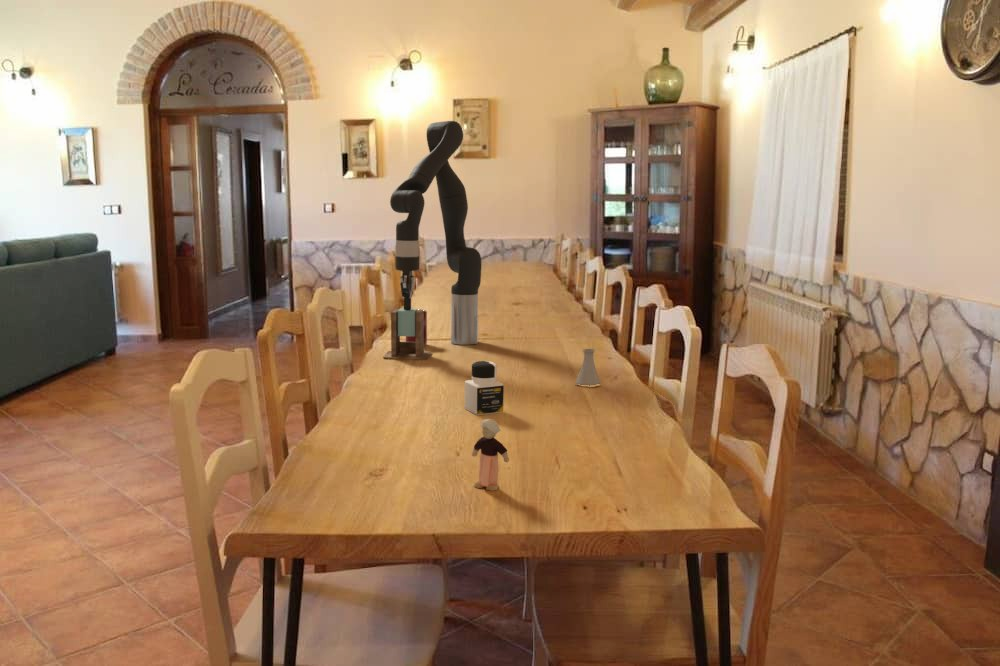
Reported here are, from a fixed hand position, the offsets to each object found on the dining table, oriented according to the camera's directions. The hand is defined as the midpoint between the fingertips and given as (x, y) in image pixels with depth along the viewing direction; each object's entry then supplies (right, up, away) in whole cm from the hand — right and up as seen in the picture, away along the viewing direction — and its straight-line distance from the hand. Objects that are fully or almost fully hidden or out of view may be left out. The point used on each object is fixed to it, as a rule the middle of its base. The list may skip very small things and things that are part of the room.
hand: (407, 309), depth 266 cm
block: (0, -8, +1) cm, 8 cm away
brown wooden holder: (0, -15, +3) cm, 15 cm away
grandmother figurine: (+27, -35, -115) cm, 123 cm away
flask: (+53, -22, -34) cm, 67 cm away
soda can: (+1, -12, +22) cm, 25 cm away
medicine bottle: (+25, -26, -62) cm, 72 cm away
